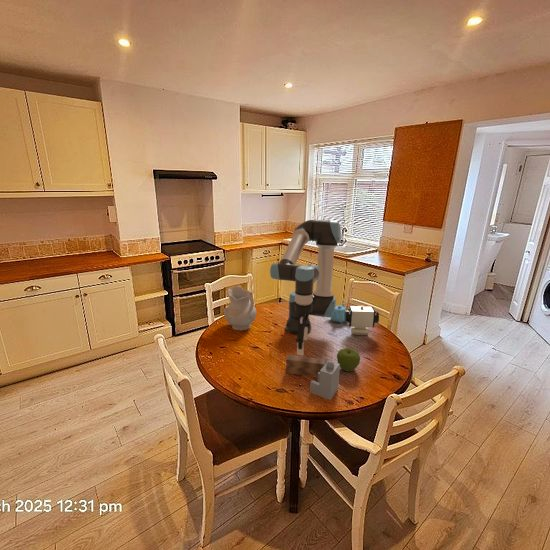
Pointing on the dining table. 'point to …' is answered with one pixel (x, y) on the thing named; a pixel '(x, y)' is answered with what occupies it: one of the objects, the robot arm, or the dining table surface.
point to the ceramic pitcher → (240, 308)
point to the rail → (304, 365)
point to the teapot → (338, 313)
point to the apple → (348, 359)
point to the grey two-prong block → (326, 381)
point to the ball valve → (361, 319)
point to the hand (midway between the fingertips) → (302, 346)
